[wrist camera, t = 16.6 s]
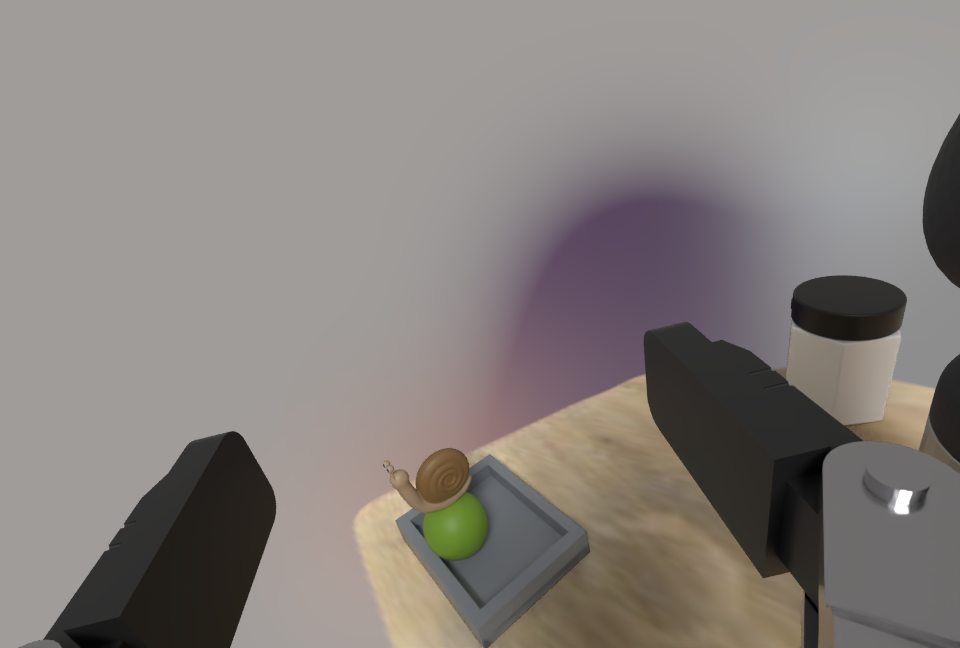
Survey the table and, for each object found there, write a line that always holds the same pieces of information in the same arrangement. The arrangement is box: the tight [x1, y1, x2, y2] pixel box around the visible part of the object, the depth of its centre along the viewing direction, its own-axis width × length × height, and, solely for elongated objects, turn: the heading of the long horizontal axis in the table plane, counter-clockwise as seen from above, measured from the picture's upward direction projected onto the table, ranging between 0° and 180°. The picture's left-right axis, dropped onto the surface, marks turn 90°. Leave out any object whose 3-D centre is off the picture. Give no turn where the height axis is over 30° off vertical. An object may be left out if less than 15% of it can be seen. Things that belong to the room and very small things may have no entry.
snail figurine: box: [383, 448, 488, 561], centre depth 38 cm, size 5×6×12 cm
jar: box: [786, 276, 907, 426], centre depth 45 cm, size 9×8×12 cm
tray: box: [396, 454, 590, 648], centre depth 41 cm, size 11×13×2 cm
